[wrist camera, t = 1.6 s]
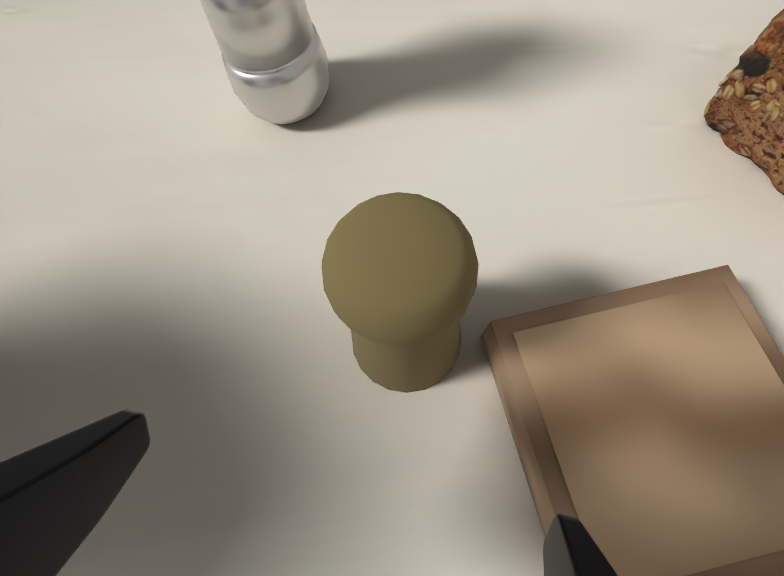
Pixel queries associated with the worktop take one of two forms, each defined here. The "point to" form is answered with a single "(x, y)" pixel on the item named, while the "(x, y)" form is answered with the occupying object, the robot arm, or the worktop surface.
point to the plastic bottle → (271, 56)
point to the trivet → (653, 423)
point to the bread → (755, 103)
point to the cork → (401, 287)
